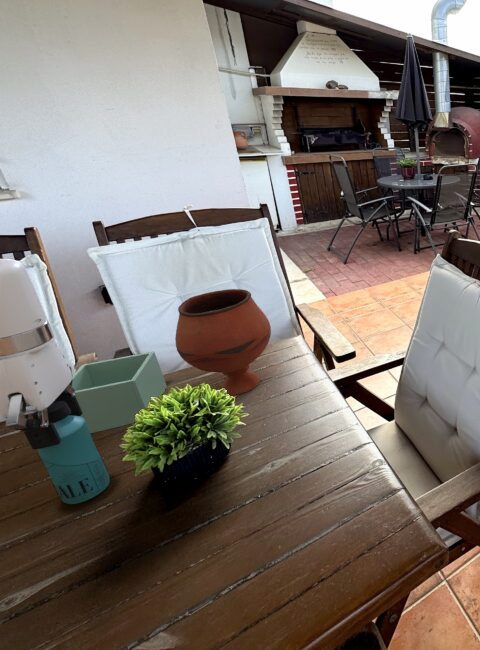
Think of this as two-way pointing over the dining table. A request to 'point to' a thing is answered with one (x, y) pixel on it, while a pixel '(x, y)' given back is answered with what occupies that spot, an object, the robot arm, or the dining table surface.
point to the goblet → (223, 336)
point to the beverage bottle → (73, 457)
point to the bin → (117, 389)
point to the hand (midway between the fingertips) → (59, 430)
